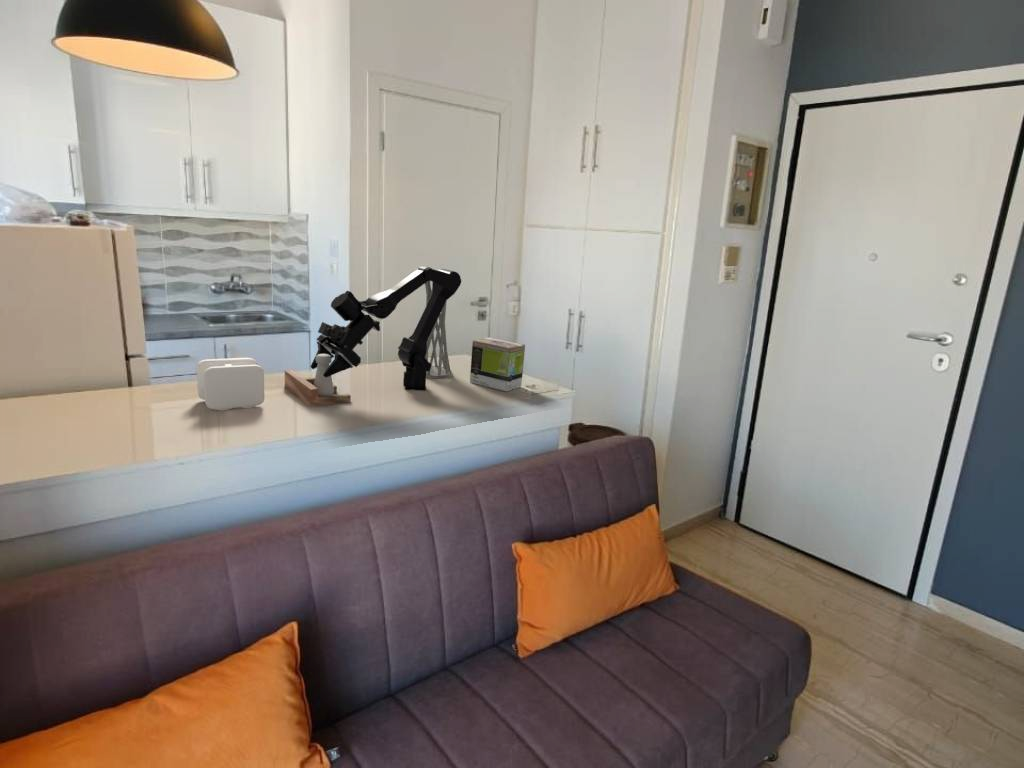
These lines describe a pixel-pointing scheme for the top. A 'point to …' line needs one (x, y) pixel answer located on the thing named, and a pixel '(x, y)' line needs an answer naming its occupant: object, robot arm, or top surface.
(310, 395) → the wooden letter e
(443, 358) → the grey lattice tower
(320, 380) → the salt shaker
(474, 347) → the tea box
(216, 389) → the cable organizer
